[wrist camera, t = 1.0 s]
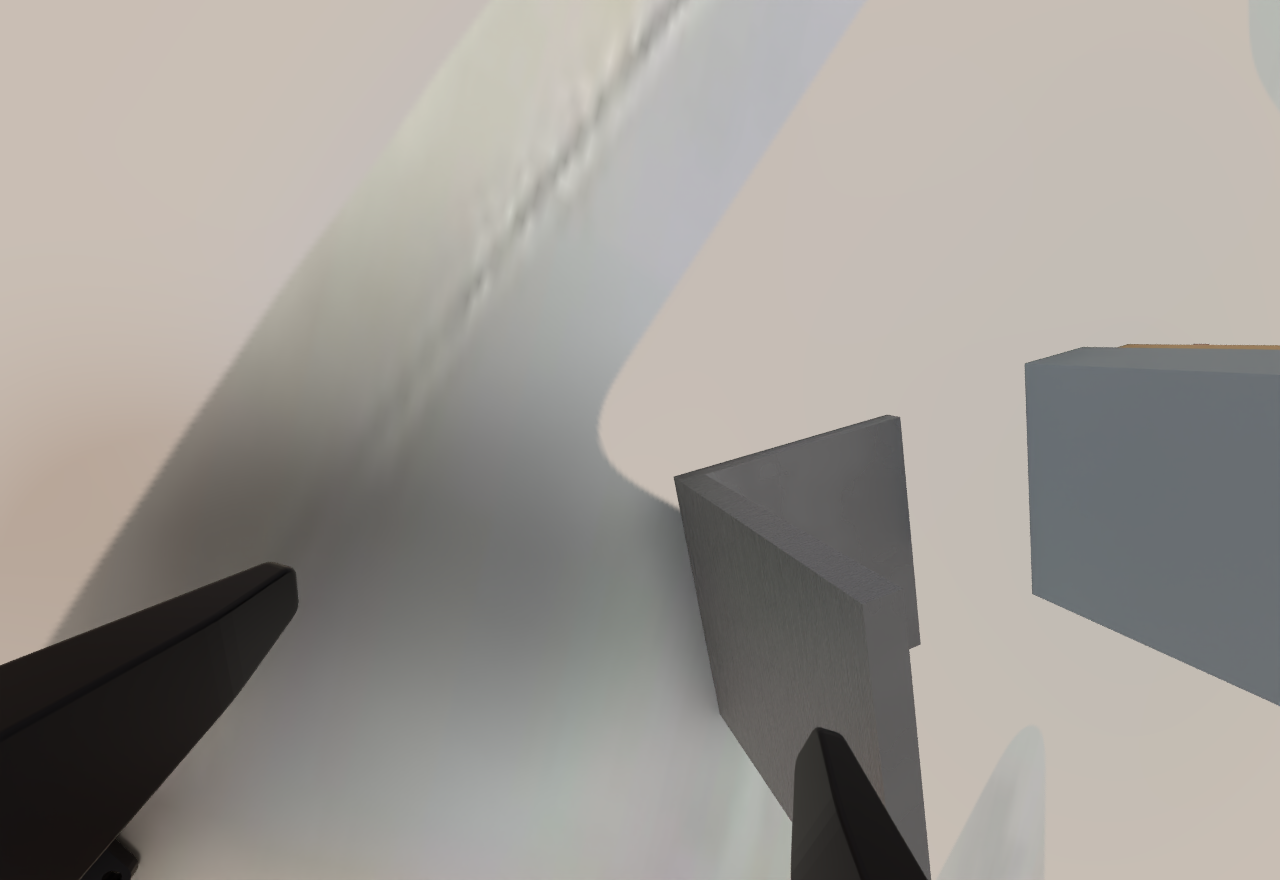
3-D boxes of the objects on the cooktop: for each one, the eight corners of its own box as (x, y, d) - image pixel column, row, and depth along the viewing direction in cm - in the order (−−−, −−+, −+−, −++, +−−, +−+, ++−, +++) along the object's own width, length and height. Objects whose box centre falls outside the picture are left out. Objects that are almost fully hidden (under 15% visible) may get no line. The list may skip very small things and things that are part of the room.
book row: (1032, 593, 28) (1312, 720, 19) (1024, 363, 26) (1348, 377, 16) (1187, 529, 31) (1499, 611, 22) (1195, 314, 28) (1558, 302, 19)
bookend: (719, 713, 24) (907, 996, 14) (673, 476, 21) (862, 604, 11) (907, 635, 26) (1188, 826, 16) (886, 414, 24) (1204, 472, 14)
